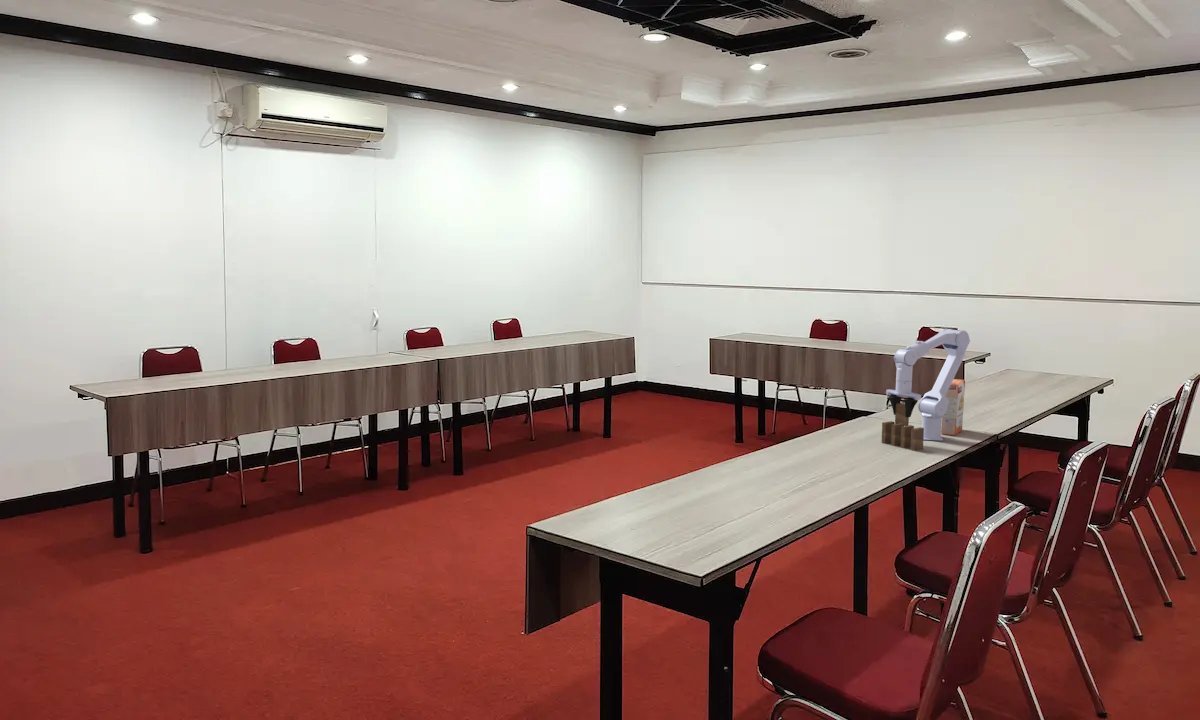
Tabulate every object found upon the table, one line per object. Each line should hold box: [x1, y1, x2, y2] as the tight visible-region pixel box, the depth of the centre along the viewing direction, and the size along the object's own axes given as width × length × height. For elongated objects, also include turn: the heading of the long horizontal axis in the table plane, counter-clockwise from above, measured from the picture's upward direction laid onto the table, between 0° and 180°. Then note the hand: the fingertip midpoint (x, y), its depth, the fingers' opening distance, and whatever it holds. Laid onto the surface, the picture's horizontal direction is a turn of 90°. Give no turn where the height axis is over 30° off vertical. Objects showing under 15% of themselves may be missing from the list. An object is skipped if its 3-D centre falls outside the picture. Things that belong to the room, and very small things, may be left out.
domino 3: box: [890, 423, 904, 447], centre depth 323 cm, size 2×5×8 cm, turn 121°
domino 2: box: [894, 402, 910, 426], centre depth 326 cm, size 2×5×8 cm, turn 32°
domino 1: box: [881, 420, 895, 444], centre depth 327 cm, size 2×5×8 cm, turn 121°
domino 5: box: [910, 426, 924, 452], centre depth 315 cm, size 2×5×8 cm, turn 121°
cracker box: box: [941, 378, 966, 436], centre depth 343 cm, size 14×6×21 cm, turn 147°
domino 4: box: [900, 424, 915, 449], centre depth 319 cm, size 2×5×8 cm, turn 121°
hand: (902, 415), depth 326 cm, fingers closed on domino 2, 5 cm apart
